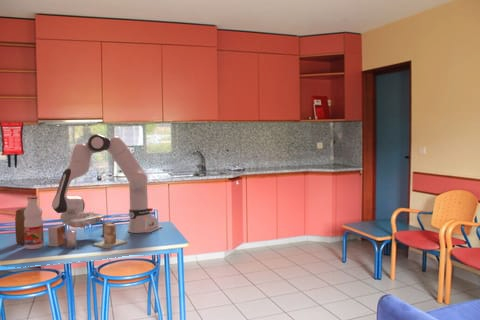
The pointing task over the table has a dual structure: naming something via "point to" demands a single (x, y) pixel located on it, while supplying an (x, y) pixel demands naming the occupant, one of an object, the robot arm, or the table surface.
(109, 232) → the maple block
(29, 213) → the fruit juice
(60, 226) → the small box
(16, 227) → the block
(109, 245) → the beige flat square plate
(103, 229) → the walnut block
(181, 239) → the table surface
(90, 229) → the table surface
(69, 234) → the metal can
